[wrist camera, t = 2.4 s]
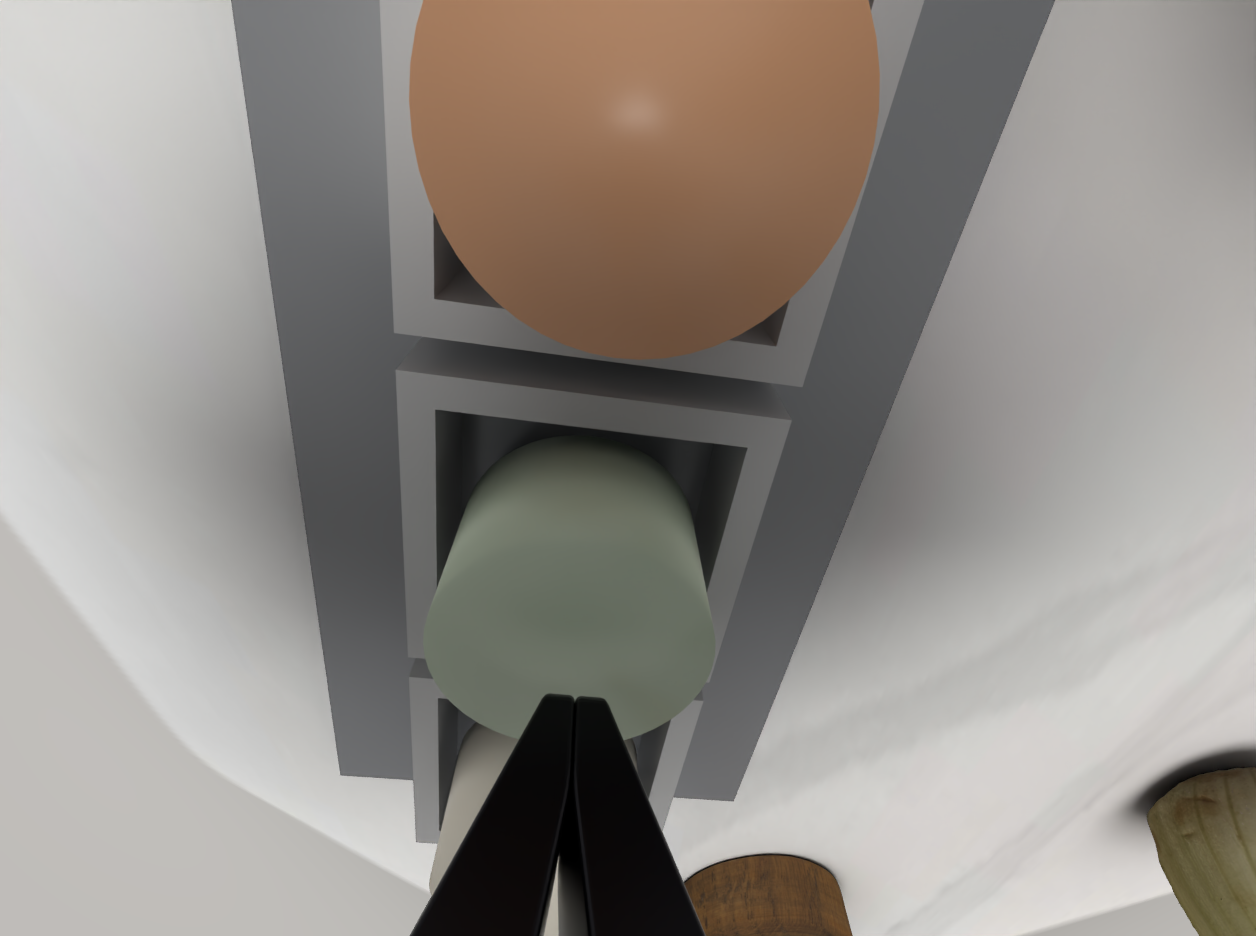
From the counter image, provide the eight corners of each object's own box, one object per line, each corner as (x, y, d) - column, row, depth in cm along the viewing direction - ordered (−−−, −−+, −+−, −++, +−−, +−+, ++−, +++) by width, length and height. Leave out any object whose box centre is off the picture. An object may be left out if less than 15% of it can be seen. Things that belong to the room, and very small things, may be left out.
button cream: (650, 708, 15) (658, 838, 12) (623, 814, 17) (625, 944, 14) (460, 692, 14) (427, 824, 12) (458, 804, 16) (430, 935, 14)
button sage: (715, 450, 11) (746, 556, 9) (670, 628, 13) (684, 755, 11) (465, 420, 11) (419, 523, 8) (462, 608, 13) (425, 736, 10)
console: (1062, -112, 9) (1250, -200, 7) (728, 771, 20) (746, 876, 18) (227, -297, 8) (34, -497, 5) (352, 744, 19) (309, 852, 17)
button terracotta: (840, -46, 8) (959, -121, 5) (751, 308, 10) (801, 382, 7) (476, -120, 7) (400, -243, 5) (469, 267, 9) (415, 331, 7)
